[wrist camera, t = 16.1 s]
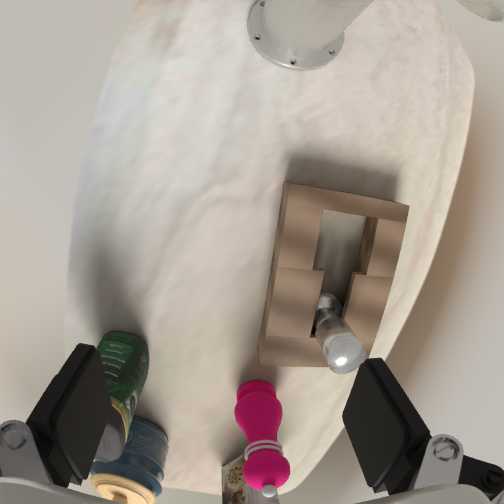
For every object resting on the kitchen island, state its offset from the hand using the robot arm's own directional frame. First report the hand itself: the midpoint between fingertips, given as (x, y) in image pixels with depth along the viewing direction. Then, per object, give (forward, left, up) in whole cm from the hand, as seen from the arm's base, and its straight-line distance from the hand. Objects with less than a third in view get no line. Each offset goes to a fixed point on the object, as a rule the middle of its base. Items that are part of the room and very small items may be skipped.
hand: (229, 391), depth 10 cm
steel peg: (+11, +14, -30) cm, 35 cm away
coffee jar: (+22, -14, -30) cm, 40 cm away
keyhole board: (+6, +14, -30) cm, 34 cm away
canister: (+42, -14, -30) cm, 53 cm away
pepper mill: (+27, +7, -30) cm, 41 cm away
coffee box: (+48, +8, -30) cm, 57 cm away
